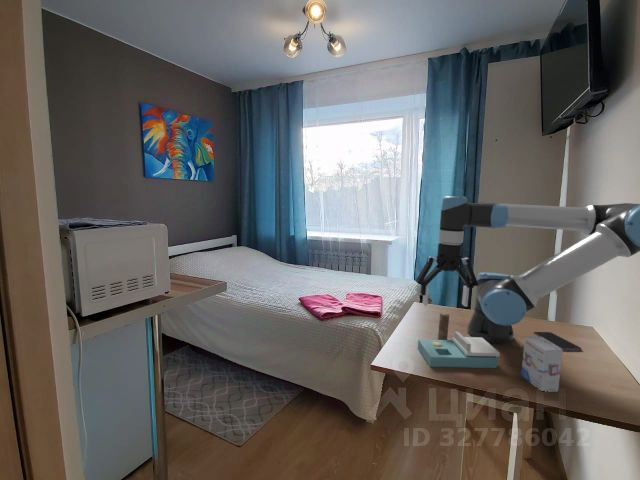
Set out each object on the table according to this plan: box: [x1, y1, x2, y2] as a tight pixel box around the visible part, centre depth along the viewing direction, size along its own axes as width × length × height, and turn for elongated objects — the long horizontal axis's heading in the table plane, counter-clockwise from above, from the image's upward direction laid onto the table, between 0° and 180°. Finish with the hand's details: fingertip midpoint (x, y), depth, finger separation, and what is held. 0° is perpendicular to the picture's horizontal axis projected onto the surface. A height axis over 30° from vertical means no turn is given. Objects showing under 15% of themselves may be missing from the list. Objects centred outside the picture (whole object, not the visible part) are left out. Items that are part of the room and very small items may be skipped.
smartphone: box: [533, 331, 582, 352], centre depth 121 cm, size 7×1×15 cm
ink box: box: [520, 336, 564, 393], centre depth 92 cm, size 9×5×12 cm, turn 5°
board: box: [417, 339, 499, 369], centre depth 106 cm, size 20×12×3 cm, turn 91°
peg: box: [437, 312, 450, 340], centre depth 117 cm, size 3×3×10 cm
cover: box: [451, 331, 501, 357], centre depth 106 cm, size 10×11×3 cm
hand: (444, 305), depth 115 cm, fingers open, 13 cm apart
